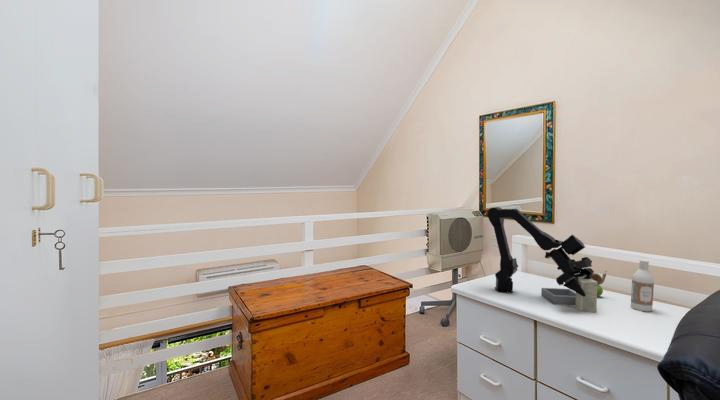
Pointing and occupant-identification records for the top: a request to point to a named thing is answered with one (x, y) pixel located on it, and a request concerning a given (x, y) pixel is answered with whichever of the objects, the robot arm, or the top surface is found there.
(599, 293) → the snail figurine
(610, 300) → the top surface
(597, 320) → the top surface
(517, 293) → the top surface
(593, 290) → the skincare box
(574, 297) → the box
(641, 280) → the bath foam
